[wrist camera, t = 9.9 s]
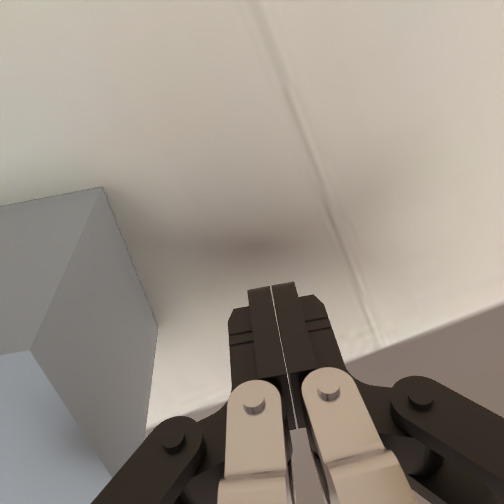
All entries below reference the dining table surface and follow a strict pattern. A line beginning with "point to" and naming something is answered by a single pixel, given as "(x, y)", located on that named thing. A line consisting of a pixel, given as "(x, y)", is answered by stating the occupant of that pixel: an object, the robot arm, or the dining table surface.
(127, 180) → the dining table surface
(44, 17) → the dining table surface
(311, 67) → the dining table surface
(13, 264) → the block
